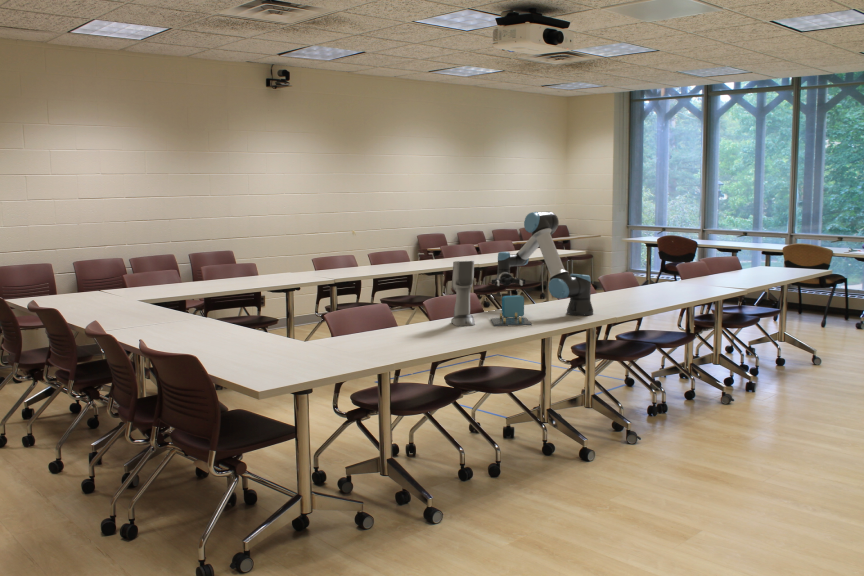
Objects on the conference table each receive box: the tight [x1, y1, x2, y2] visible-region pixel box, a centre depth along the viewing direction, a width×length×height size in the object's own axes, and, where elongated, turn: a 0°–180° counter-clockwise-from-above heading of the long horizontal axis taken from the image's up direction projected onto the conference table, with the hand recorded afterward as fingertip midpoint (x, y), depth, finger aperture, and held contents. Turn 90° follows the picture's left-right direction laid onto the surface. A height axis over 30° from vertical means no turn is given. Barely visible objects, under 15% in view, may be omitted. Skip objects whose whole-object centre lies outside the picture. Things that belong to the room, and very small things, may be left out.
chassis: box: [489, 312, 532, 327], centre depth 398 cm, size 20×19×4 cm
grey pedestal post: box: [450, 260, 476, 327], centre depth 394 cm, size 12×13×35 cm
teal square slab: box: [501, 294, 525, 318], centre depth 417 cm, size 12×4×12 cm, turn 106°
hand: (510, 283), depth 425 cm, fingers open, 13 cm apart
